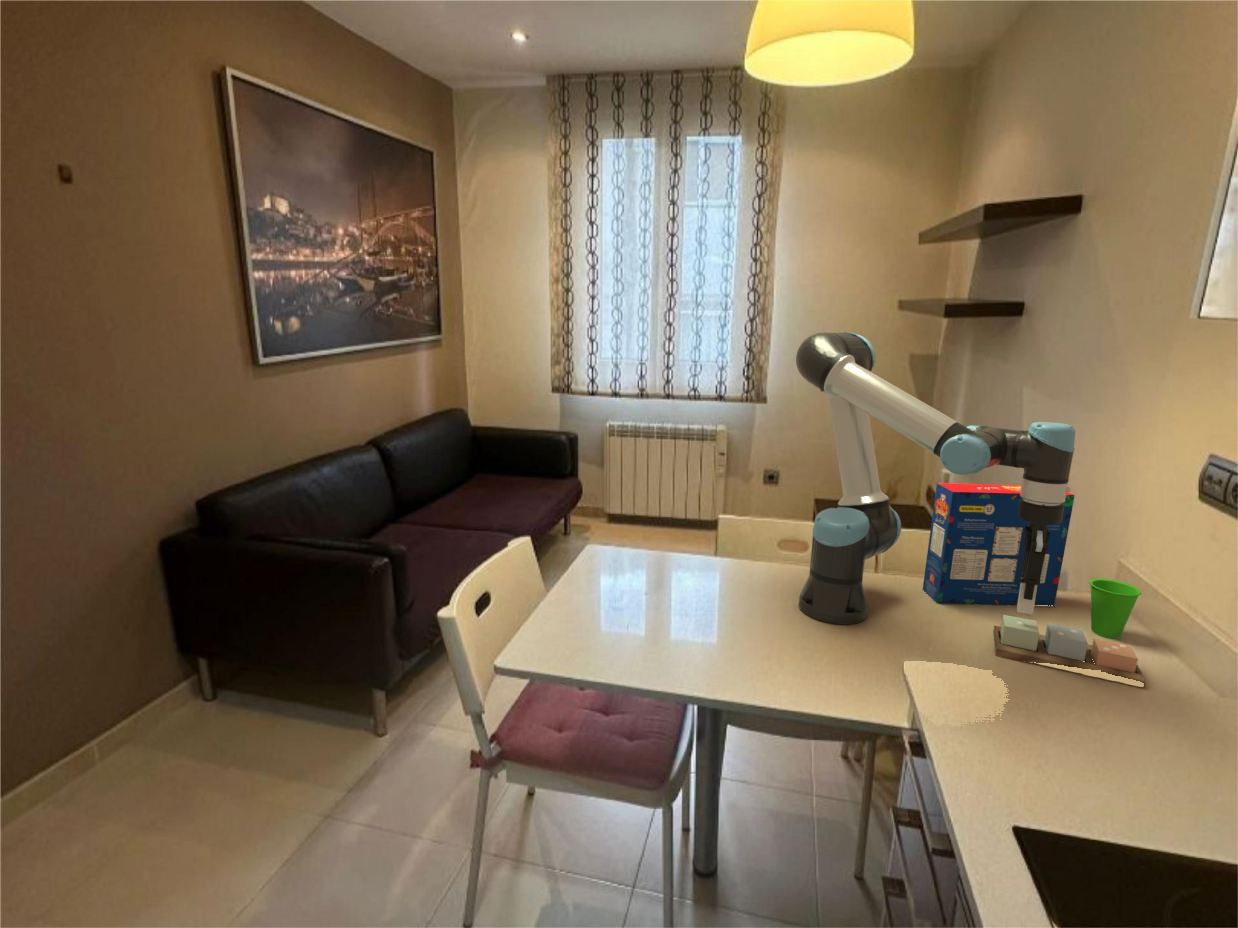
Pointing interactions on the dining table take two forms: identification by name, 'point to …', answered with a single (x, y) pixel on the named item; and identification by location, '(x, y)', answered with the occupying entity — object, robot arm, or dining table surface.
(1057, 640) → the grey block
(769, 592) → the dining table surface
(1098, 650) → the peach block
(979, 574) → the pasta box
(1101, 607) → the cup
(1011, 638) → the pale green block
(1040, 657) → the board
